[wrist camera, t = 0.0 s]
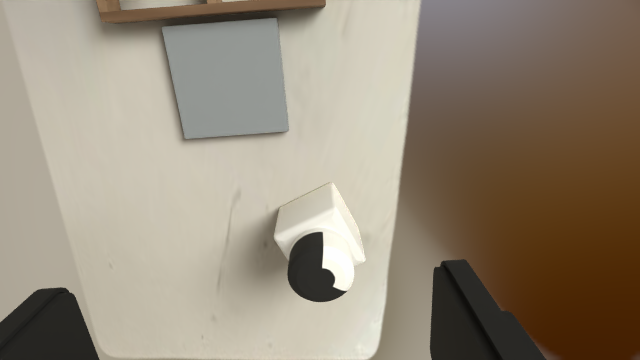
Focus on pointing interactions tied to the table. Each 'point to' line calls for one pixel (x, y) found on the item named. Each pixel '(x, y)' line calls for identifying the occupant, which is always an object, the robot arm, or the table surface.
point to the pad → (228, 77)
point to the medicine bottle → (319, 244)
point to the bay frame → (198, 9)
